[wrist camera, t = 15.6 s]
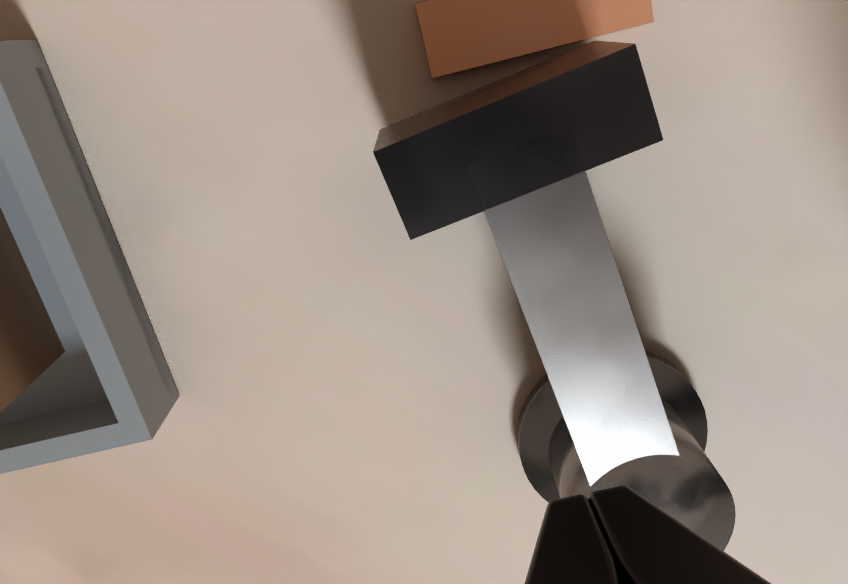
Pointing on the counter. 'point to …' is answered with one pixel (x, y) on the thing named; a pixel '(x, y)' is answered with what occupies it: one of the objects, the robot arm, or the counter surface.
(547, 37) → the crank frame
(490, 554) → the counter surface
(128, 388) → the tray
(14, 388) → the block
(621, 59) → the crank arm
